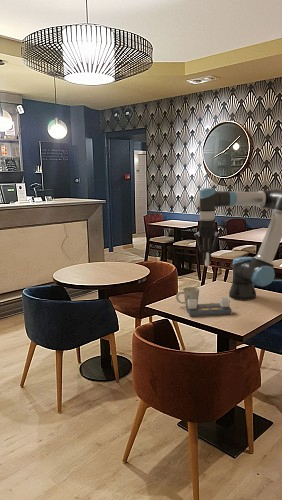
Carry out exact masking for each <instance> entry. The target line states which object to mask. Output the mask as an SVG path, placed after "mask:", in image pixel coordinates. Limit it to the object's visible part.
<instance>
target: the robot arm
mask: <svg viewBox="0 0 282 500" xmlns="http://www.w3.org/2000/svg"><path fill="white" fill-rule="evenodd" d="M233 206H237V207H238V206H242V207H243V206H246V207H247V206H251V207H257V208H258V209H259V208H260V209H268V210H271V212H272V217H271V219H270V222H269V224H268V227H267V230H266V232H265V234H264V237H263V239H262V242H261V245H260V247H259V249H258V252H257V254H256V255H255V256H253V257H252V256H239V257H234V258H233V260H232V283H231V286H230V288H229V292H228V296H229V298H230V299H233V300H236V301H237V300H238V301H252V300H255V299H256V298H257V291H256V288H255V286H258V287H262V288H263V287H267V286H270V284H271V283H272V282H273V281H274V280H275V275H276V273H275V269H274V266H275V264H274V259H275V257H276V254H277V252H278V249H279V246H280V245H281V244H280V243H281V241H282V188H281V189H278V188H277V189H276V188H275V189H268V190H267V189H266V190H259V191H233V190H232V191H230V190H228V191H226V190H216V189H215V188H214V187H213V188H212V187H211V188H210V187H205V188H203V187H202V188H200V189H199V229H198V231H197V232H196V233H194V234H193V235H194V238H196V243H197V247H198V251H199V252H200V253H202V258H203V260H204V266H205V267H210V260H212V253H215V252H216V247H217V245H218V244H217V243H218V240H219V238H220V235H221V233H220V232H217V231H216V227H215V226H216V223H215V222H216V220H215V218H216V213H215V212H216V208H221V207H222V208H224V207H233ZM200 236H201V238H202V243H201V239H200ZM213 236H214V238H213ZM212 238H213V239H212ZM212 240H213V241H212ZM212 242H213V243H212Z"/></svg>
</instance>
